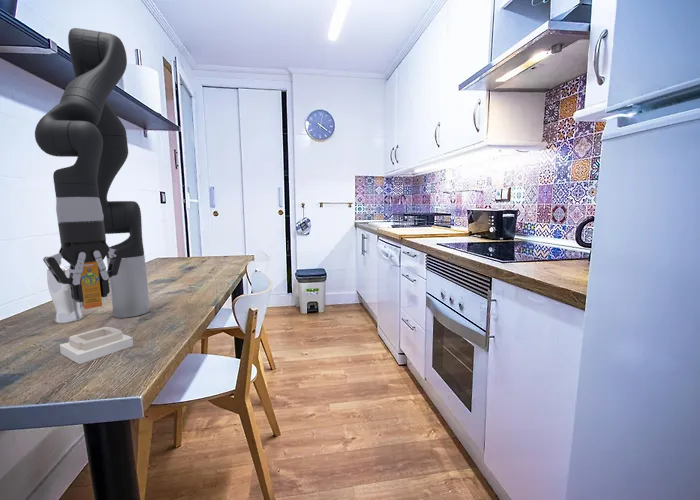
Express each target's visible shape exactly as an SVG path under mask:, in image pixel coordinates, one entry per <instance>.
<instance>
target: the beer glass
mask: <svg viewBox="0 0 700 500" xmlns="http://www.w3.org/2000/svg"><path fill="white" fill-rule="evenodd" d="M60 267H61V269H62V270H63V272H64V273H65V275H66V277H67V278H69V267H70V265H68V266H60ZM46 277H47V278H46V279H47V287H48V288H47V289H48V292H49V295H50V298H51V300H52V302H53V305H54V307H55V308H54V309H55V320H54V321H55V324H60V325H61V324H67V323H69V324H70V323H73V322H77V321H81V320H83V318H84V314H83V312H82V308H81V302H76V300H73V299H72V297H71V290H70V285H69V284H62V283H58V282H57V280H56V279H55V277H54V276H53V274H52V273H51V271H50V270H49V268H47V270H46ZM79 284H80V283H79Z"/></svg>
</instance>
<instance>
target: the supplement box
mask: <svg viewBox="0 0 700 500" xmlns="http://www.w3.org/2000/svg"><path fill="white" fill-rule="evenodd" d="M80 285H82V293H83V302H81V304H82V305H81V306H82V307H83V309H84V310H87V309H92V308H94V309H95V308H100V307H103V301H102V297H101V290H100V281H99V272H98V263H97V262H96V261H92V262H84V266H83V272H82V274H81V278H80Z"/></svg>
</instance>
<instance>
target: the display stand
mask: <svg viewBox="0 0 700 500" xmlns="http://www.w3.org/2000/svg"><path fill="white" fill-rule="evenodd" d="M133 340H134V339H133V337H132V336H129V335H126V334H124V333H123V331H122V330H120V329H118V328H115V327H112V326H110V327H108V326H103V327H100V328H96V329H92V330H88V331H85V332H82V333H78V334H74V335H70V336H69V337H68V342H65V343H60V344H59V351H60V352H59V353H60V355H62V356H64V357H66V358H67V359H69V360H71V361H73V362H75V363H76V364H78V365H82V364H85V363H88V362H91V361H95V360H96V359H100V358H103V357H106V356H109V355H112V354H114V353H117V352H121V351H124V350H127V349H129V348H131V347H134V341H133Z"/></svg>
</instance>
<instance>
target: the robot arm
mask: <svg viewBox="0 0 700 500" xmlns="http://www.w3.org/2000/svg"><path fill="white" fill-rule="evenodd" d="M67 37H68V38H67V39H68V41H67V42H68V50H69V51H68V52H69V55H70V60H71V64H72V69H73V74H74V77H75V78H74V79H73V80H71V81H70V82H69V83H68V84H67V86H66V87H65V89H64V91H63V94H62V95H61V98H60V101H59V103H58V104H56V105H55V106H54V107H52V108H51V109H50V110H49V111H48V112H46V113H45V115H43V116H42V117H41V118H40V119H39V120H38V123H37V124H36V126H35V130H34V138H35V142H36V145H37V146H38V147H39V148H40V150H42V152H43V153H45V154H47V155H49V156H53V157H58V158H59V157H60V158H61V157H63V158H64V157H67V158H69V157H72V158H73V157H76V158H77V159H76V161H75V162H74V164H73V165H69V166H67V167H62V168H59V169H56V170H55V171H54V172H53V176H52V177H53V185H54V193H55V200H56V201H55V202H56V203H55V212H56V217H57V218H56V219H57V224H58V225H57V226H58V233H59V240H60V249H59V251H58V253H56V254H52V255H50V256H44V257H43V259H42V260H43V262H44V264H45V266H46V267H47V269H49V270H50V271H51V273H52V274H53V276H54V277H55V279H56V280H57V282H58V283H62V284H69V285H70V290H71V297H72V299H73V300H76V302H80V303H82V302H83V293H82V285H80V284H79V283H80V278H81V274H82V272H83V266H84V262H92V261H96V262H97V263H98V272H99V281H100V290H101V298H106V297H108V295H109V294H110V296H111V302H112V303H111V304H112V305H111V306H112V312H113V313H112V314H113V317H114V318H118V319H119V318H120V319H122V318H132V317H137V316H141V315H144V314H147V313H149V312H150V311H151V304H150V294H149V286H148V285H149V284H148V276H147V266H146V258H145V257H146V256H145V250H144V249H145V248H144V241H143V232H142V231H143V228H142V227H143V226H142V224H143V223H142V211H141V208H140V205H139V204H138V202H137V201H134V200H115V201H114V200H111V201H110V200H108V194H109V191H110V188H111V185H112V183H113V181H114V180H115V177H116V176H117V174H119V171H120V170H121V169H122V167H123V166H124V164H125V163H126V161H127V159H128V156H129V144H128V137H127V130H126V127H125V125H124V124H123V122H122V121H121V119H120V118H119V116H118V115H117V114H116V113H115V111H114V110H113V109H112V108H111V107H110V105H109V104H108V102H107V99H108V97H109V96H110V94H111V93H112V91H113V90H114V88H115V87H117V85H118V84H119V82H120V80H121V79H122V77H123V76H124V74H125V72H126V69H127V64H128V62H127V61H128V57H127V51H126V48H125V45H124V44H123V41H122V39H121V38H120V37H118V36H117V35H115V34H113V33H110V32H109V33H108V32H103V31H99V30H98V31H97V30H92V29H86V28H79V27H78V28H77V27H72V28H71V29H70V30H69V32H68V35H67ZM112 234H129V236H128V237H127V238H126V239H124V241H122V242H119V243H117V244H114V245H111V246H109V245H108V243H107V237H106V236H107V235H112ZM105 258H106V263H107V267H106V265H105V263H104V260H105ZM62 259H63V260H65V261H66V263H68V264H69V266H70V267H69V278H67V277H66V275H65V273H64V272H63V270H62V269H61V267H62V266H61V264H62Z"/></svg>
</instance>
